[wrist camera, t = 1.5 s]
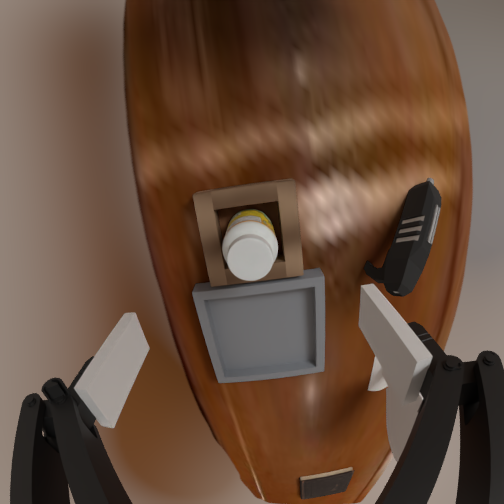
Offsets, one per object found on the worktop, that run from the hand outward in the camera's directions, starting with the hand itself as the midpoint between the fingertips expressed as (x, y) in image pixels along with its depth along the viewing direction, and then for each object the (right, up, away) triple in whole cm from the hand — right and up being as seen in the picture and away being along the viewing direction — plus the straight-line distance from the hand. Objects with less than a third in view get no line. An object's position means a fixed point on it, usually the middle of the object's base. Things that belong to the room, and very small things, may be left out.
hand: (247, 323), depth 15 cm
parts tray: (+2, -7, +22) cm, 23 cm away
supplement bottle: (0, +7, +18) cm, 19 cm away
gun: (+19, +8, +17) cm, 27 cm away
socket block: (0, +6, +18) cm, 19 cm away
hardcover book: (+24, -70, +46) cm, 87 cm away
